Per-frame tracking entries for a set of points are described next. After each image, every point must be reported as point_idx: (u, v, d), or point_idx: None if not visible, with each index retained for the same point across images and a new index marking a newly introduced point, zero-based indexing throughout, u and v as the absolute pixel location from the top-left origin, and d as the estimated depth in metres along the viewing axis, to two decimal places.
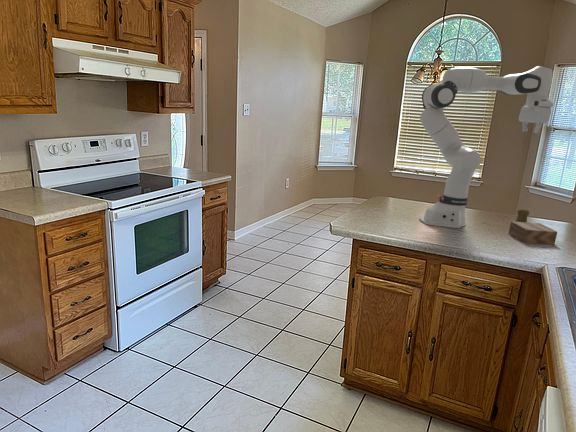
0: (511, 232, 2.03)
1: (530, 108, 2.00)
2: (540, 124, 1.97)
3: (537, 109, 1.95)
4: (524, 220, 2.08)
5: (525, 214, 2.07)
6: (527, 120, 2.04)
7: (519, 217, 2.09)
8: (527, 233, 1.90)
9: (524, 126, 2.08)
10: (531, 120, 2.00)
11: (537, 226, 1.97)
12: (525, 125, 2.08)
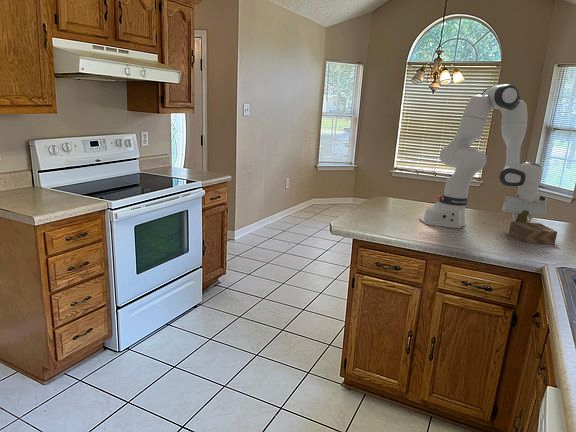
0: (511, 232, 2.03)
1: (531, 202, 2.05)
2: None
3: (540, 203, 2.06)
4: (524, 220, 2.08)
5: (525, 214, 2.07)
6: None
7: (519, 217, 2.09)
8: (527, 233, 1.90)
9: None
10: (529, 212, 2.08)
11: (537, 226, 1.97)
12: None
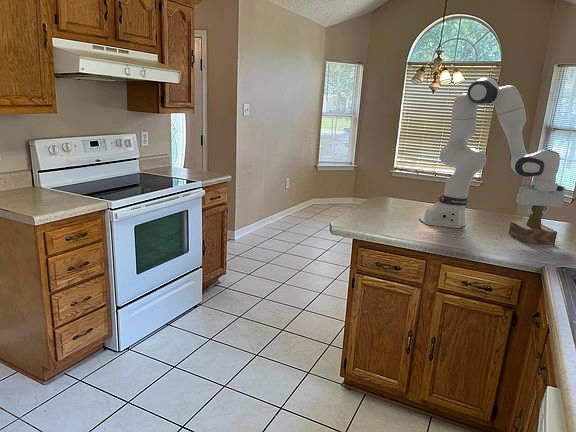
0: (511, 232, 2.03)
1: (547, 193, 1.90)
2: None
3: (557, 194, 1.90)
4: (539, 215, 1.93)
5: (540, 209, 1.92)
6: (538, 204, 1.92)
7: (533, 212, 1.94)
8: (527, 233, 1.90)
9: None
10: (546, 204, 1.92)
11: None
12: None
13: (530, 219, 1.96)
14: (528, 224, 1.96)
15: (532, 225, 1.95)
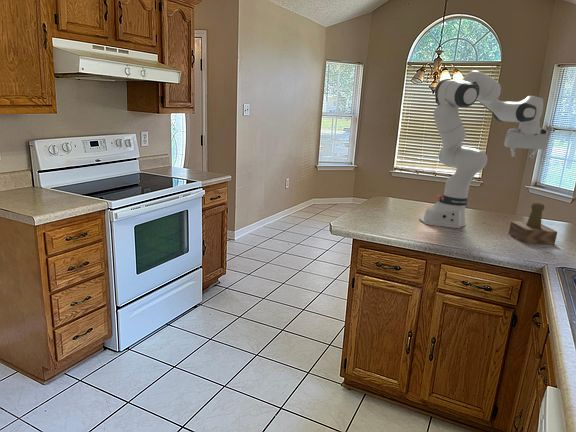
0: (511, 232, 2.03)
1: (532, 135, 2.09)
2: None
3: (541, 137, 2.10)
4: (539, 215, 1.93)
5: (540, 209, 1.92)
6: (524, 146, 2.12)
7: (534, 212, 1.94)
8: (527, 233, 1.90)
9: None
10: (531, 146, 2.12)
11: None
12: None
13: (530, 219, 1.96)
14: (528, 224, 1.96)
15: (532, 225, 1.95)
